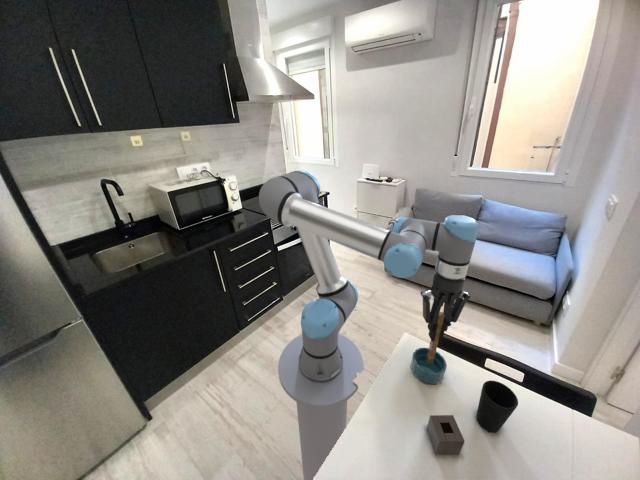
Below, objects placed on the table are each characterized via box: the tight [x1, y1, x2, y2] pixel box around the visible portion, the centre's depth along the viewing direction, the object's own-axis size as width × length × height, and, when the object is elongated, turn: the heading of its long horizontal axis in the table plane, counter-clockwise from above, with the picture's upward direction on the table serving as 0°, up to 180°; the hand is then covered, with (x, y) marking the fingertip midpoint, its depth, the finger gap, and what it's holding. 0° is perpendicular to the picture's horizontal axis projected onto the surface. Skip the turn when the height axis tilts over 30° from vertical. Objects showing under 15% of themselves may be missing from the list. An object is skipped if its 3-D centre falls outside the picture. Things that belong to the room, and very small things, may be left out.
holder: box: [426, 414, 465, 456], centre depth 65 cm, size 6×6×6 cm
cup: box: [475, 380, 519, 434], centre depth 68 cm, size 8×8×12 cm
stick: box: [426, 311, 445, 364], centre depth 79 cm, size 2×2×20 cm
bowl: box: [410, 347, 447, 385], centre depth 84 cm, size 10×10×5 cm
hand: (435, 337), depth 79 cm, fingers closed on stick, 2 cm apart
